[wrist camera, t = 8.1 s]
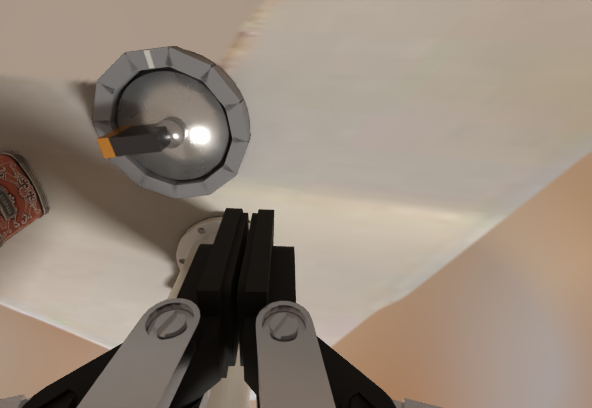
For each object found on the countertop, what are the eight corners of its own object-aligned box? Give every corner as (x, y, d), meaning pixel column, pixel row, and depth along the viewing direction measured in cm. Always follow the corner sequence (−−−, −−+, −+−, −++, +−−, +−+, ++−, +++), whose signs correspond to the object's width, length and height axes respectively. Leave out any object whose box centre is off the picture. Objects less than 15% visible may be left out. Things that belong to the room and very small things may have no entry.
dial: (217, 64, 28) (203, 69, 23) (239, 170, 33) (231, 191, 28) (106, 76, 28) (70, 84, 23) (144, 179, 33) (120, 202, 28)
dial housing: (214, 207, 36) (208, 221, 34) (91, 143, 32) (72, 153, 30) (277, 102, 31) (276, 109, 28) (138, 10, 27) (120, 6, 24)
